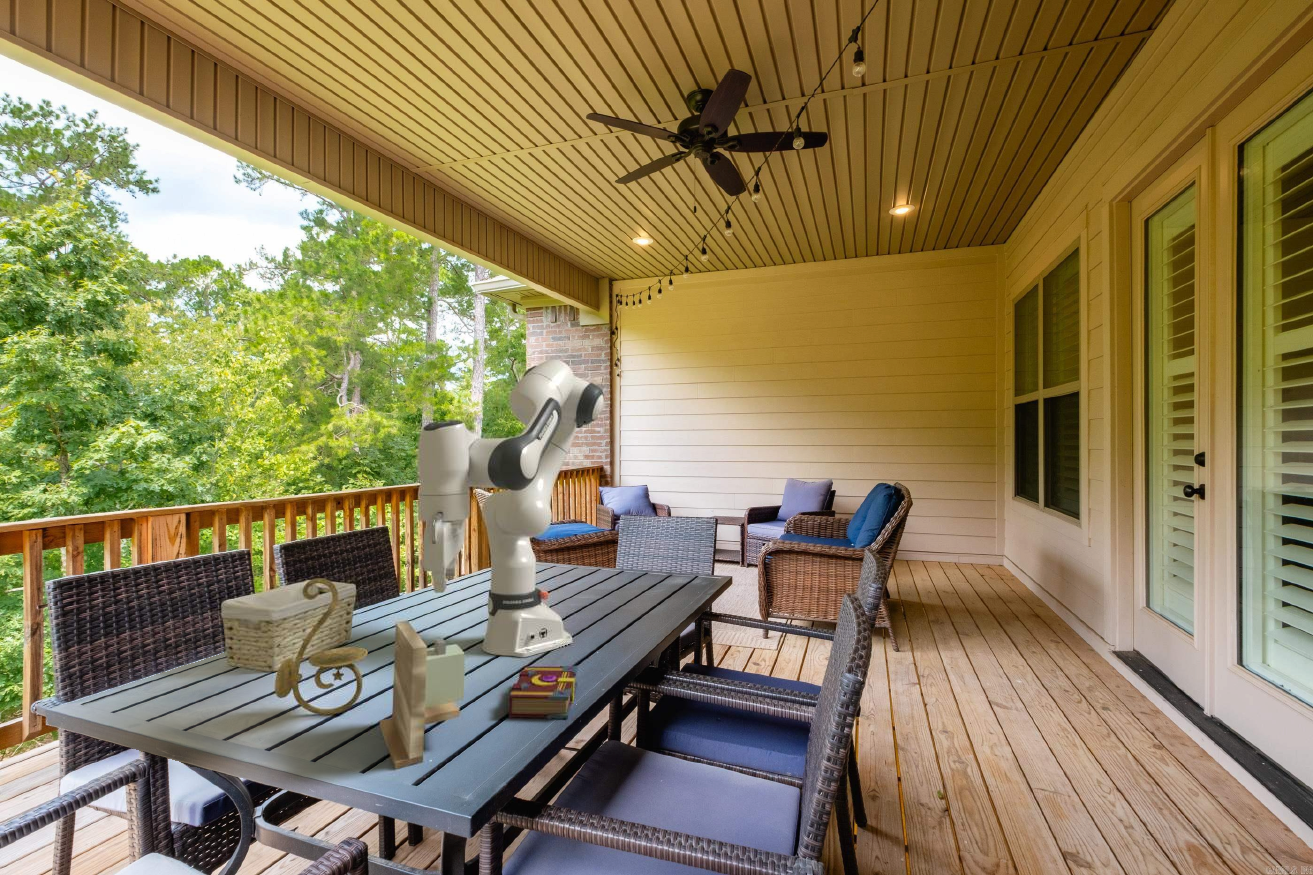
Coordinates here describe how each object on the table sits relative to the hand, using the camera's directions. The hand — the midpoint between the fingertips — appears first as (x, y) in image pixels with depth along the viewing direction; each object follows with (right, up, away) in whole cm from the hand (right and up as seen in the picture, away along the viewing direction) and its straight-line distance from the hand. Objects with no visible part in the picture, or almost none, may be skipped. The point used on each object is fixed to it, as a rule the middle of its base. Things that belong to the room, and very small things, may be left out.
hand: (445, 584), depth 102 cm
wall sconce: (-23, -24, +1) cm, 33 cm away
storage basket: (-49, -25, +31) cm, 63 cm away
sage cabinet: (+1, -19, -5) cm, 19 cm away
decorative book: (+16, -26, +9) cm, 32 cm away
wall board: (-2, -24, -7) cm, 25 cm away
